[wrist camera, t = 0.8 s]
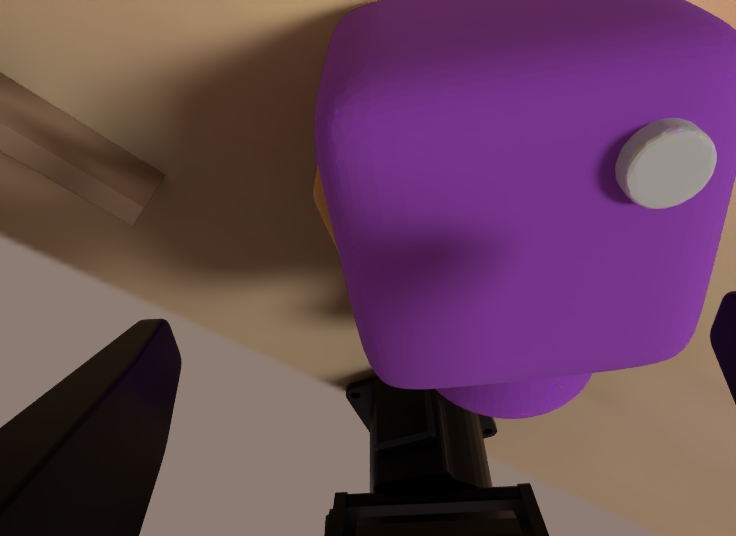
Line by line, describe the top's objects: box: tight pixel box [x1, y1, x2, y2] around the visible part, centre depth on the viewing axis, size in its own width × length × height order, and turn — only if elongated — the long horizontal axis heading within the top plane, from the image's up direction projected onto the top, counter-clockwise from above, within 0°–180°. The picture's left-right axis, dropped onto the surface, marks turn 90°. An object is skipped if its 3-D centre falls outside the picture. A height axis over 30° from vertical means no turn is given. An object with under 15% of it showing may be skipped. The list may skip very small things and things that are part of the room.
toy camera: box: [313, 0, 736, 419], centre depth 17 cm, size 11×14×10 cm
